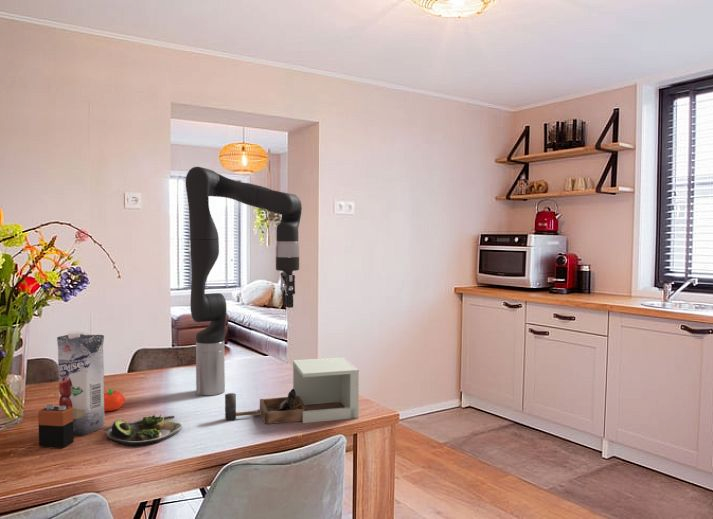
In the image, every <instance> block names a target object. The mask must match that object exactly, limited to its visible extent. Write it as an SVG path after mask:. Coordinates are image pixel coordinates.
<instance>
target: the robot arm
mask: <svg viewBox="0 0 713 519" xmlns="http://www.w3.org/2000/svg"><path fill="white" fill-rule="evenodd" d="M185 190H186V196H187V205H188V213H189V214H188V217H189V244H190V245H189V246H190V247H189V249H190V262H191V267H190V268H191V284H190V305H189V306H190V314H191V319H192V320H193V322H196V323H207V322H210V323H209V324H208V325H207V327H205V328H204V329H201V330H200V331H198V332H196V335H195V348H196V349H195V354H196V355H195V356H196V358H195V365H196V366H195V372H196V373H195V374H196V375H195V379H196V380H195V383H196V384H195V385H196V387H195V388H196V391H195V395H197V396H214V395H215V396H216V395H220V394H223V393H224V392H225V391H226V389H225V388H226V387H225V386H226V385H225V384H226V381H225V380H226V376H225V375H226V374H225V368H226V367H225V364H226V363H225V361H226V360H225V336H226V331H227V330H226V329H227V328H226V327H227V302H226V297H225V296H224V295H223V294H222V293H219V292H216V293H205V292H206V291H205V290H206V282H207V279H208V276H209V275H210V273H211V271H212V269H213V267H214V266H215V264H216V262H217V261H218V258H219V254H220V244H219V243H220V241H219V232H218V229H217V227H216V224H215V221H214V219H213V217H212V214H211V211H210V206H209V205H210V204H209V199H210V198H209V197H217V198H226V199H230V200H234V201H237V202H239V203H242V204H244V205H247V206H251V207H254V208H258V209H262V210H266V211H269V212H271V213H275V214H277V215H281V219H280V223H278V224H277V226H276V230H275V231H276V235H275V236H276V238H275V239H276V245H275V270H276V271H277V272H280V291H281V298H282V299H281V301H282V302H281V303H282V305H285V307H286V308H289V309H291V308H294V296H295V294H296V286H295V285H296V276H295V274H294V273H293V272H295V271H299V270H300V246H299V245H300V244H299V226H300V223H301V222H300V221H301V218H302V217H301V216H302V209H303V208H302V202H301V198H300V197H298V196H297V195H296V194H294V193H288V192H284V191H283V192H282V191H278V190H273V189H271V188H270V187H269V188H268V187H265V186H261V185H258V184H254V183H249V182H244V181H243V182H242V181H237V180H235V179H234V180H233V179H231V178H229V177H226V176H223V175H222V174H220V173H218V172H216V171H214V170H213V169H209V168H205V167H201V166H194V167H192V168H190V169H189V170H188V171H187V173H186V176H185Z"/></svg>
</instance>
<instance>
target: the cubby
mask: <svg viewBox="0 0 713 519" xmlns="http://www.w3.org/2000/svg"><path fill="white" fill-rule="evenodd" d="M359 377H360V376H359V369H358V368H357V367H356V366H355V365H353V364H352V363H351V362H350V361H348V360H347V359H346V358H345V357H344V356H343V357H326V358H324V357H322V358H308V359H307V358H306V359H294V360H292V389H294V390H295V393H296V396H299V397H300V399H301V400H302V401H303V403H304V405H305V406H308V405H317V404H318V405H321V404H331V403H341V404H342V405H343V406H344V407H336V408H335V407H334V408H325V409H312V410H310V409H309V410H307V411H302V423H303V424H306V423H319V422H327V421H340V420H350V419H359V408H360V407H359V406H360V405H359V402H360V400H359V399H360V398H359V394H360V392H359V389H360V388H359V385H360V384H359V381H360V380H359Z"/></svg>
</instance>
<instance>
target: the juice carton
mask: <svg viewBox="0 0 713 519" xmlns="http://www.w3.org/2000/svg"><path fill="white" fill-rule="evenodd" d="M104 339H105V335H103V334H89V333H85V332H81V331H80V330H73V331H69V332H67V334H65V335H60V336H57V337H56V341H57V367H58V370H57V371H58V407H59V406H66V407H72V408H73V435H77V436H81V437H82V436H85V435H88V434H91V433H93V432H95V431H99V430H101V429H103V428H104V427H105V411H104V394H105V385H104V384H105V380H104V379H105V377H104V376H105V373H104V371H105V370H104Z"/></svg>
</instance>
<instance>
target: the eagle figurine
mask: <svg viewBox="0 0 713 519" xmlns="http://www.w3.org/2000/svg"><path fill="white" fill-rule="evenodd" d="M287 397H288V400H285V401H284V402H282V403H281V405H280V407H278V408H276V410H277V411H280V410H282V409H283V410H284V409H285V410H297V407H298V406H300V405H301V404H302V403H303V401H302V402H301V403H300V404H298V405H297V406H296V402H294V404H293V401H294V400H295V398H296V393H295V390H294V389H293V388H292V389H291V390H290V391H289V392H288V394H287Z"/></svg>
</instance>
